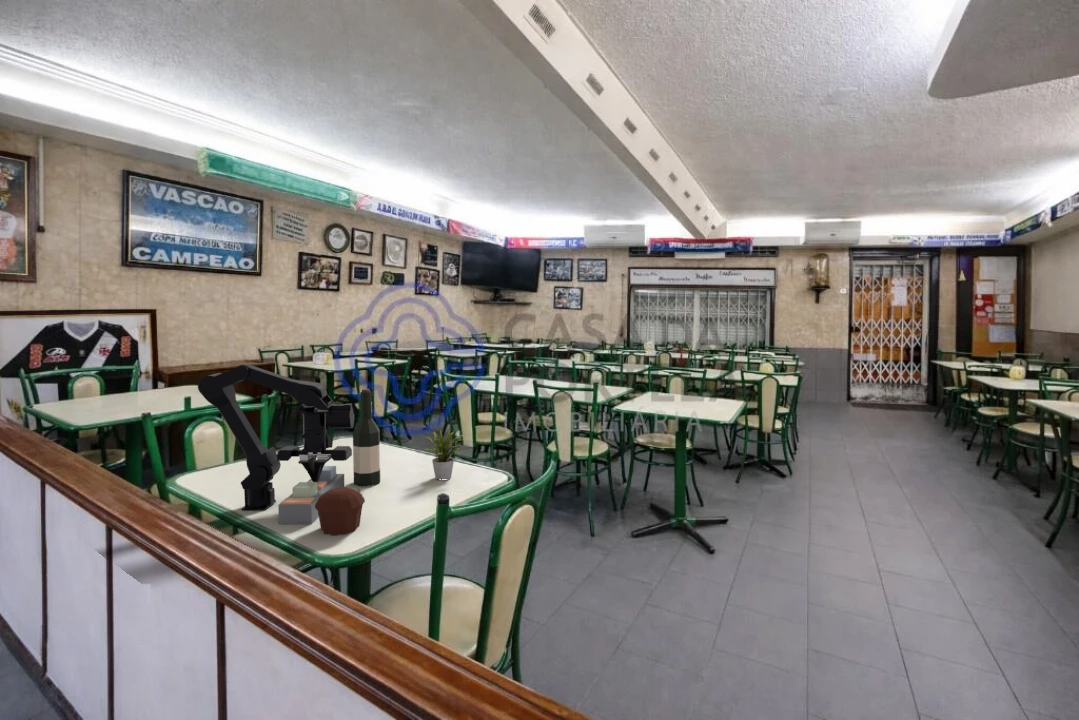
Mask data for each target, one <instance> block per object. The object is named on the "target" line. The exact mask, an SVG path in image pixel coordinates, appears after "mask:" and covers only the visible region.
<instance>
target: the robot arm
mask: <svg viewBox="0 0 1079 720" xmlns="http://www.w3.org/2000/svg"><path fill="white" fill-rule="evenodd" d="M243 381H247V382H250V383H254V384H256V385H257V384H258V385H260V386H263V387H266V388H269V389H272V390H275V391H278V392H281V393H284V394H286V395H288V396H290V397H291V398H292V399H294V400H295V401H297V402H299V403H301V404H300V405H299V407H298V408H297V409H296V410H295V411H294V414H295V415H296V414H301V415H302V426H303V427H302V428H303V429H302V432H303V433H302V434H301V439H303V448H302V449H301V448H300V447H299V445H286V446H284V447H282V448H280V449H279V450H278V451H277V450H276V448H275V447H273V446H272V447H270V448H267V447H266V446H265V445H263V443H262V441H261V440H260V438H259V437H258V435H257V433H256V432H255V430H254V428H253V426H252V425H251V423H250V422H249V420H248V418H247V417H246V415H245V413H244V411H243V410H242V408H241V407H240V405H239V403H238V402H237V397H236V389H235V387H234V385H237V384H238V383H240V382H243ZM197 391H198V392H199V393H200V394H201V395H202V397H203V398H204V399H205V401H207V402H208V403H209V404H211V405H212V406H213V407H215V408H216V409H217V410H218V411H219V412H220V414H221V416H222V418H223V419H224V421H225V422H226V424H227V426H228V428H229V429H230V431H231V433H232V434H233V435H234V438H235V440H237V443H238V445H239V446H240V448H241V449H242V451H243V452H244V455H245V459H246V461H245V462H246V467H247V469H248V472H249V474H248V475H247V476H246V477H244V479H242V481H241V482H240V485H241V488H242V490H243V491H244V493H243V494H244V506H242V507H241V510H242V511H259V510H260V511H263V510H264V511H265V510H267V509H268V508H270V507H271V506H273V504H275V503H277V500H276V499H275V498H276V496H275V495H276V493H275V490H276V489H275V488H274V487H273V486H274V485H273V482H272V480H273V479H274V476H275V475H276V474H277V473H278V472H279V471H280V470H281V462H280V461H282V462H283V461H284V462H286V461H287V462H288V461H289V460H291V459H292V457H298V458H299V460H298V465H299V464H300V465H302V466H303V468H304V469H305V471H306V472H307V474H308V476H309V477H310V479H312V481H313V482H317V483H318V481H319V478H320V475H321V472H322V469H323V467H324V466H326V465H325V464H326V463H328V462H329V461H330V460H333V461H334V462H335V461H336V462H338V461H339V462H343V461H347V460H348V459H350V458H351V457H353V448H352V447H351V446H350V445H337V446H336V447H334V448H333V442H334V436H332V435H329V434H328V430H327V429H326V428H327V427H326V425H327V426H328V427H330V428H331V429H353V428H354V424H355V413H354V409H353V403H345V404H341V403H340V404H338V403H337V404H335V402H334V400H332V398H331V397H330V396H329V394H328V391H327V389H326V386H325V385H324V384H322V383H319V382H315V381H309V380H300V379H299V380H297V379H293V378H290V377H287V376H285V375H281V374H278V373H275V372H272V371H269V370H266V369H263V368H260V367H257V366H255V365H254V364H251V363H245V364H244V363H243V364H240V365H238V366H237V367H235V368H232V369H230V370H227V371H225V372H217V373H213V374H208V375H206V376H203V377H202V378H201V379H199V382H198V385H197ZM329 448H330V449H329ZM331 448H333V449H331Z"/></svg>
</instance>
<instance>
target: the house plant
mask: <svg viewBox="0 0 1079 720" xmlns="http://www.w3.org/2000/svg"><path fill="white" fill-rule="evenodd" d="M447 432H448V433H447V434H446V436H445V438H444V434H443V433H442V430H441V429H439V435H440V436H439V435H438V434H437V433H436V432H435V431H433V436H434V437H433V438H432V439H433V440H432V439H431V437H428V436H427V435H426V438H427V439H428V440H429V441H430V442H431V443H432V444H433V446H434V447H433V448H429V447H426V448H424V449H423V450H425V451H430V452H433V453H434V455H435V458H432V459H431V461H432V466H433V468H432V469H433V471H434V478H436V479H441V480H442V479H449V480H450V478H451V479H452V476H453V475H452V474H453V468H454V461H455V459H454V457H451V456H452V455H453V454H454V453H455V452H456V453H458V454H459V455H461V453H460V451H459V450H460V448H459V447H460V446H461V447H462V444H459V445H456V446H454V444H455V443H457V442H460V441H461V439H463V437H462V436H465V435H466V434H465V433H464V434H461V435H459V436H456V437H455V438H453V434H454V432H455V431H452V432H451V429H449V430H448V431H447ZM436 479H435V480H436ZM441 480H440V481H441Z"/></svg>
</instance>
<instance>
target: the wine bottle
mask: <svg viewBox="0 0 1079 720" xmlns="http://www.w3.org/2000/svg"><path fill="white" fill-rule="evenodd" d="M359 396H360V400H359V402H360V403H359V404H360V405H359V406H360V419H359V421H358V423H357V425H356V426H355V428H354V430H353V431H352V458H353V459H352V460H353V461H352V462H353V463H352V465H353V485H354V486H357V487H359V488H362V487H363V486H365V487H373V486H377V485H378V484H380V482H381V436H380V435H381V430H380V428H379V426H378V424H377V423H376V422H375V421H374V419H373V415H372V414H373V412H372V391H371V390H370V388H363V389H361V391H360V393H359ZM372 485H373V486H372ZM363 488H364V487H363Z"/></svg>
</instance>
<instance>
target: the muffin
mask: <svg viewBox="0 0 1079 720" xmlns="http://www.w3.org/2000/svg"><path fill="white" fill-rule="evenodd" d="M365 502H366V501H365V497H364V496H363V494H362V493H361V492H360V491H359V490H358V489H355V488H352V487H349V486H345V487H338V488H333V489H330V490H329V491H327V492H326V493H324V494H323V495H321V496H320V497H319V499H318V500H317V502H316V504H315V508H316V510H317V511H318V515H319V517H318V519H319V525H320V531H321V530H322V531H321V532H323V535H326V536H327V535H329V536H333V537H334V536H341V535H343V536H344V535H347V534H349V533H352V532H355V531H356V530H357V529H358V528H359V527H360V523H361V517H362V511H363V505H364V503H365Z"/></svg>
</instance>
